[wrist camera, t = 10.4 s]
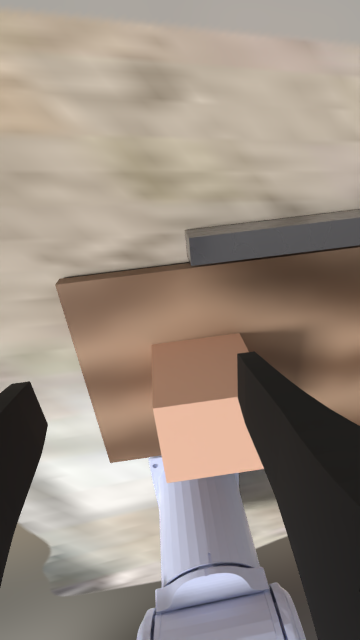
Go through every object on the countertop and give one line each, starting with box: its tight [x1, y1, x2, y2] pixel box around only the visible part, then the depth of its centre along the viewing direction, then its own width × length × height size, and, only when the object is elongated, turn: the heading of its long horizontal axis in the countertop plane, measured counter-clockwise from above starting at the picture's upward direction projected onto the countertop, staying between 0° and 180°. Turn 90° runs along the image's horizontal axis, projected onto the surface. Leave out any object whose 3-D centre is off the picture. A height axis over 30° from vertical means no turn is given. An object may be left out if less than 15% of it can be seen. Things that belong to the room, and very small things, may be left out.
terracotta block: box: [151, 333, 264, 483], centre depth 20 cm, size 6×6×6 cm
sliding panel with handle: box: [56, 245, 360, 463], centre depth 21 cm, size 16×24×6 cm, turn 96°
